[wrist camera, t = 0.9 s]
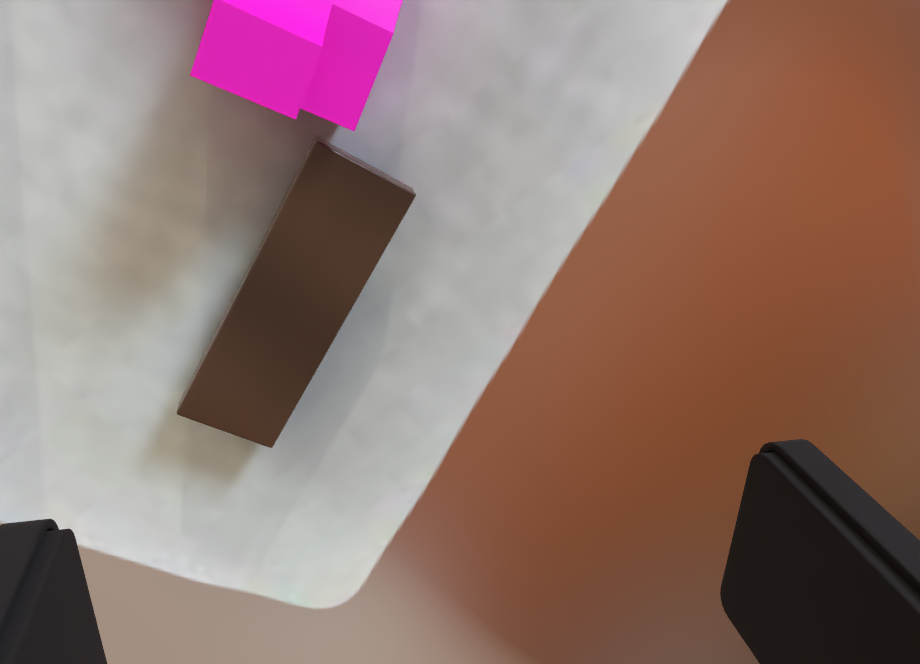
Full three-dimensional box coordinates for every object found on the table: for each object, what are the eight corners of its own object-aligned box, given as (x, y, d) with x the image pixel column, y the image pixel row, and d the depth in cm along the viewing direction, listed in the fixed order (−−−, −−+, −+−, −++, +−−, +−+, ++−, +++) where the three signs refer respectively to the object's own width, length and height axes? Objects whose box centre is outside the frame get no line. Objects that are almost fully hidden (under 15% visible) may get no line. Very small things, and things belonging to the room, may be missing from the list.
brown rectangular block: (314, 129, 34) (316, 140, 32) (408, 180, 36) (416, 194, 34) (182, 388, 39) (175, 414, 36) (272, 421, 40) (271, 449, 38)
